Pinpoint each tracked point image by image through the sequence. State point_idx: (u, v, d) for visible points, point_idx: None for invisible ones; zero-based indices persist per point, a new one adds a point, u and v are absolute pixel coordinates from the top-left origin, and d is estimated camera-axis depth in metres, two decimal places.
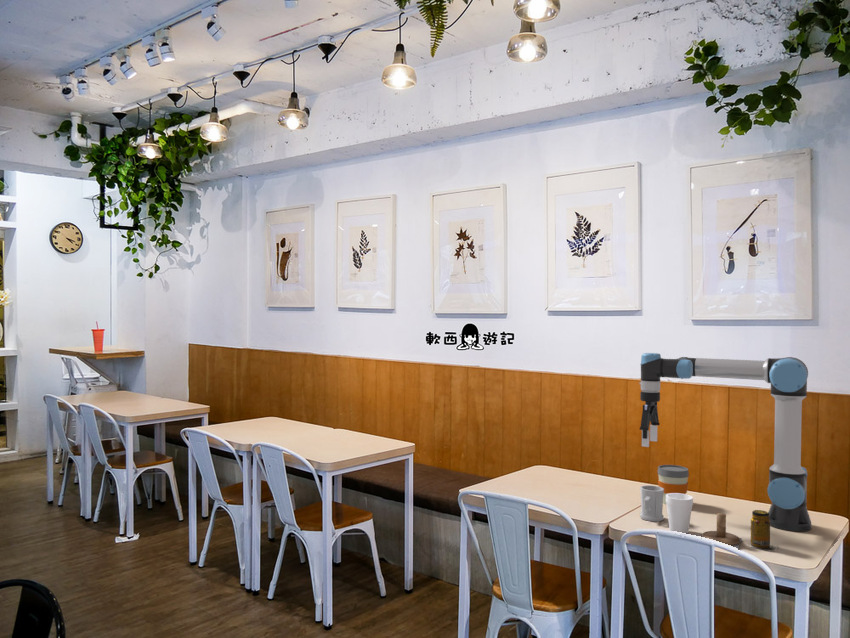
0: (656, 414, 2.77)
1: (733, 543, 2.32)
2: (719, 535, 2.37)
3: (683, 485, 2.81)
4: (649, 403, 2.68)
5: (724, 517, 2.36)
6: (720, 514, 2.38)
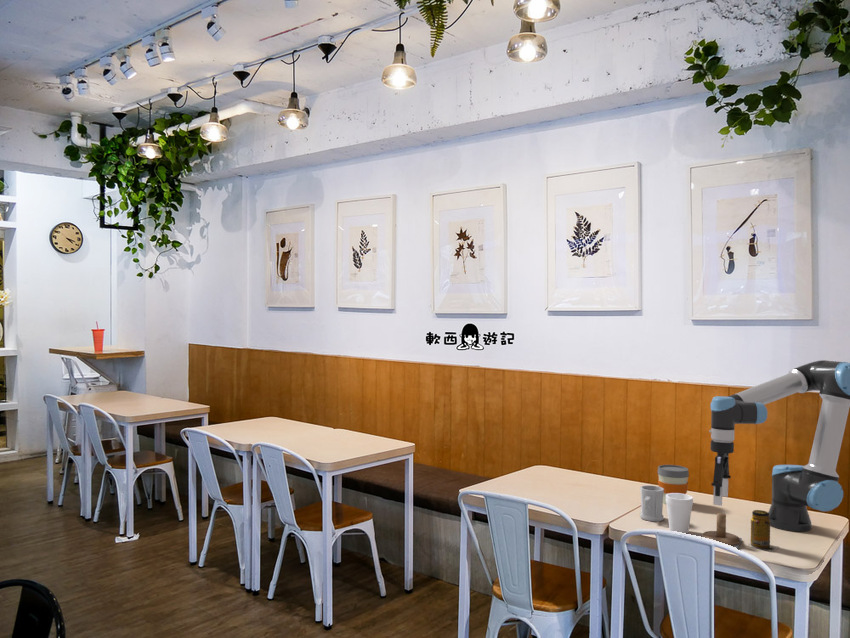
0: None
1: (733, 543, 2.32)
2: (719, 535, 2.37)
3: (683, 485, 2.81)
4: (722, 455, 2.34)
5: (724, 517, 2.36)
6: (720, 514, 2.38)
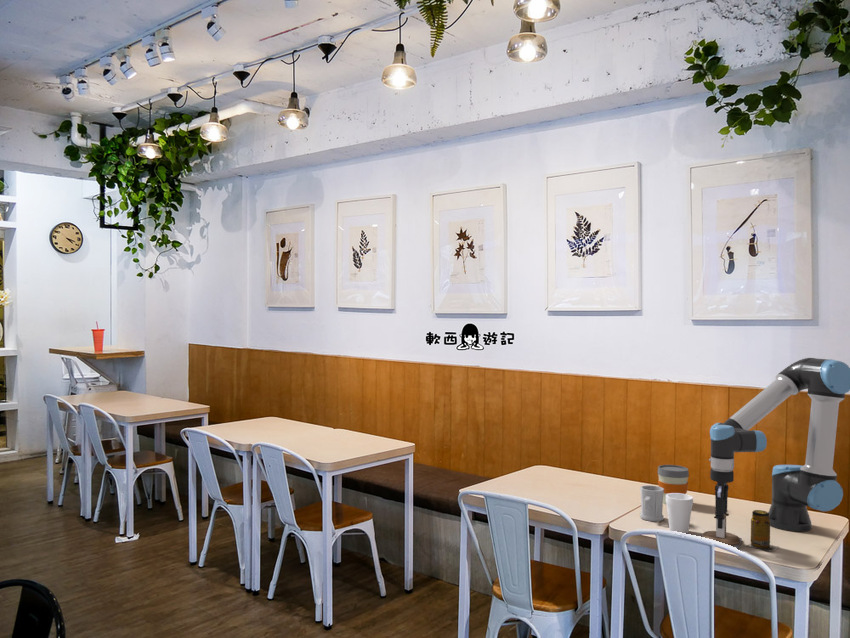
0: (726, 500, 2.41)
1: (733, 543, 2.32)
2: None
3: (683, 485, 2.81)
4: (722, 484, 2.34)
5: (724, 517, 2.36)
6: None
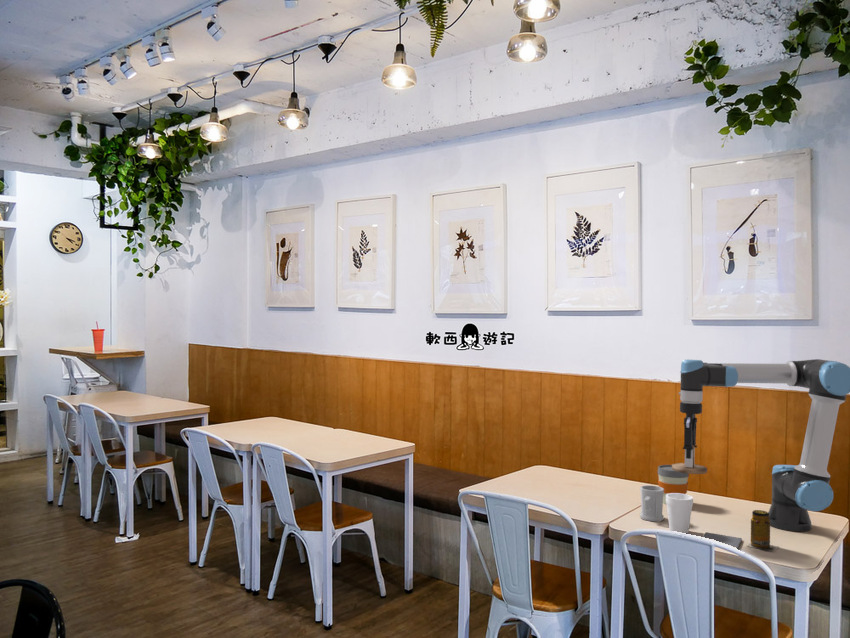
0: (694, 432, 2.49)
1: (701, 472, 2.40)
2: None
3: (683, 485, 2.81)
4: (690, 415, 2.42)
5: None
6: None
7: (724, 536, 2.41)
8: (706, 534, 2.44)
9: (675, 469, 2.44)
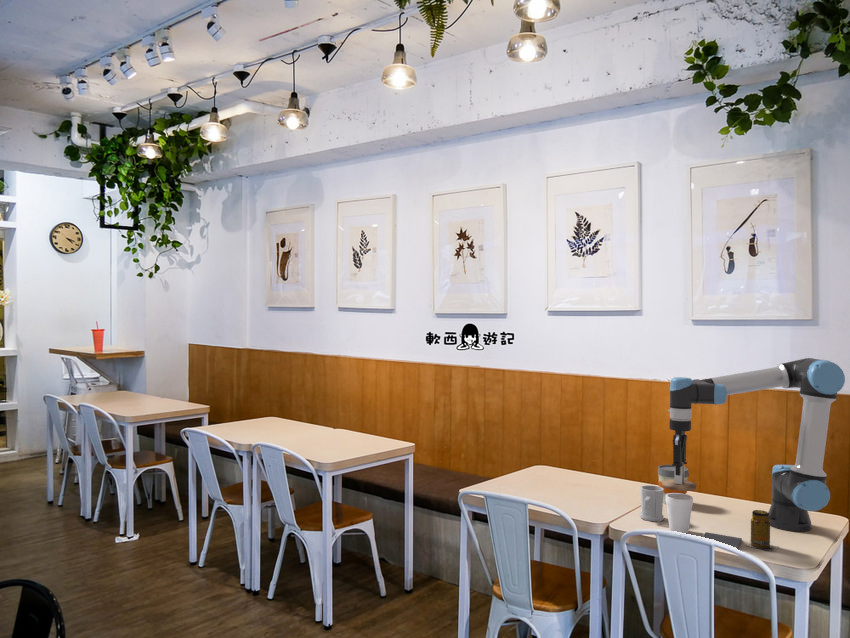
0: None
1: (690, 488, 2.43)
2: None
3: None
4: (679, 433, 2.45)
5: (682, 464, 2.48)
6: None
7: (724, 536, 2.41)
8: (706, 534, 2.44)
9: (665, 486, 2.48)
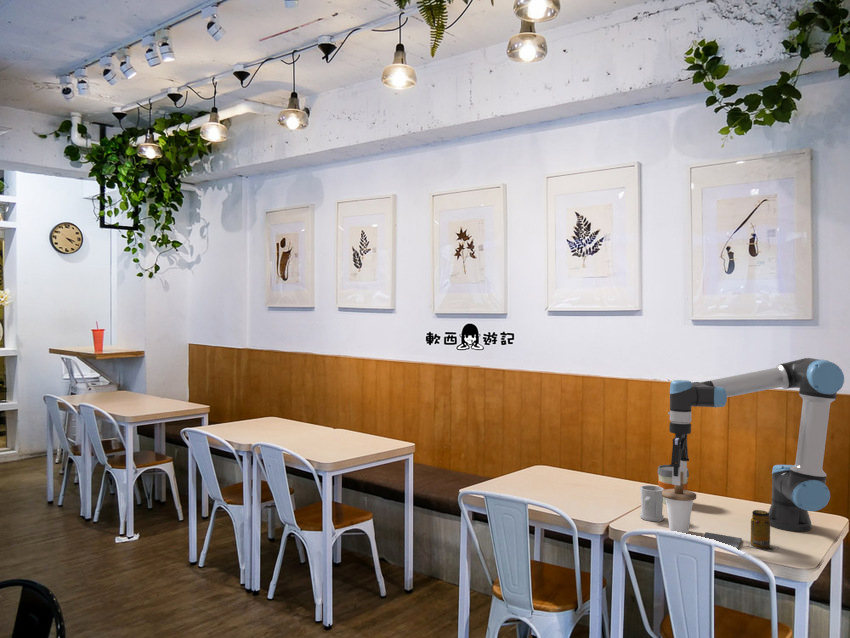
0: (686, 448, 2.54)
1: (690, 498, 2.44)
2: (677, 492, 2.48)
3: (683, 485, 2.81)
4: (679, 436, 2.45)
5: (681, 474, 2.48)
6: None
7: (724, 536, 2.41)
8: (706, 534, 2.44)
9: (665, 496, 2.48)
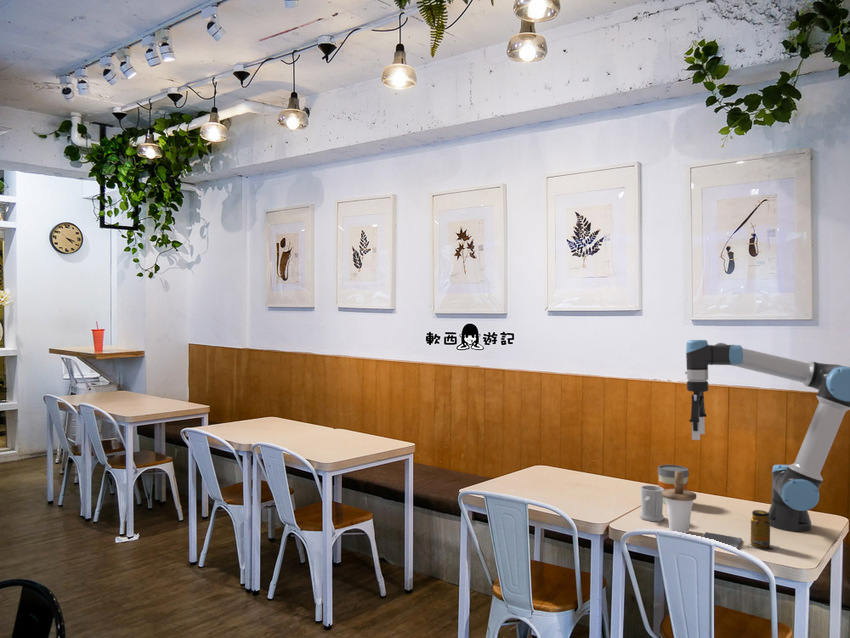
0: (703, 405, 2.61)
1: (690, 498, 2.44)
2: (677, 492, 2.48)
3: (683, 485, 2.81)
4: (698, 393, 2.51)
5: (681, 474, 2.48)
6: (678, 472, 2.49)
7: (724, 536, 2.41)
8: (706, 534, 2.44)
9: (665, 496, 2.48)
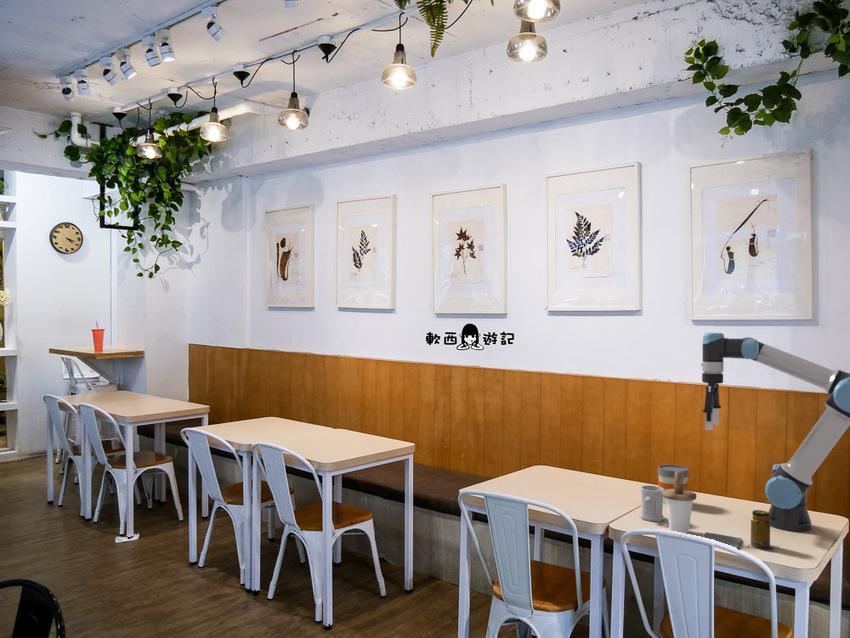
0: (717, 397, 2.66)
1: (690, 498, 2.44)
2: (677, 492, 2.48)
3: (683, 485, 2.81)
4: (712, 385, 2.57)
5: (682, 474, 2.48)
6: (678, 472, 2.49)
7: (724, 536, 2.41)
8: (706, 534, 2.44)
9: (665, 496, 2.48)
